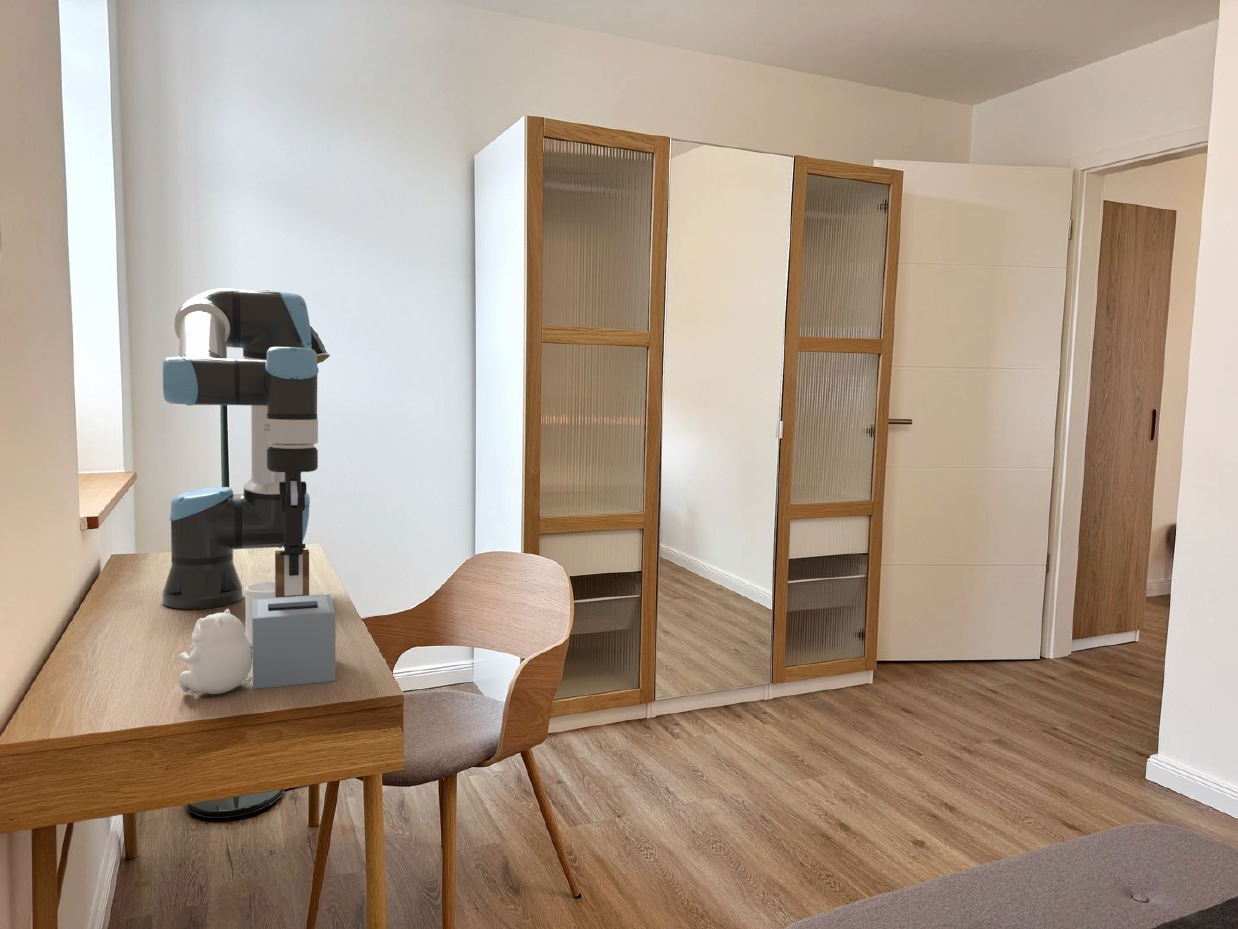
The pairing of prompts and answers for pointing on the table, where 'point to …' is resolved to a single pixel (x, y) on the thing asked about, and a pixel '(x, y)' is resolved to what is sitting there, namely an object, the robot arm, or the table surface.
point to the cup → (256, 592)
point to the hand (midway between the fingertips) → (293, 592)
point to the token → (280, 574)
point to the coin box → (293, 641)
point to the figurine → (217, 655)
